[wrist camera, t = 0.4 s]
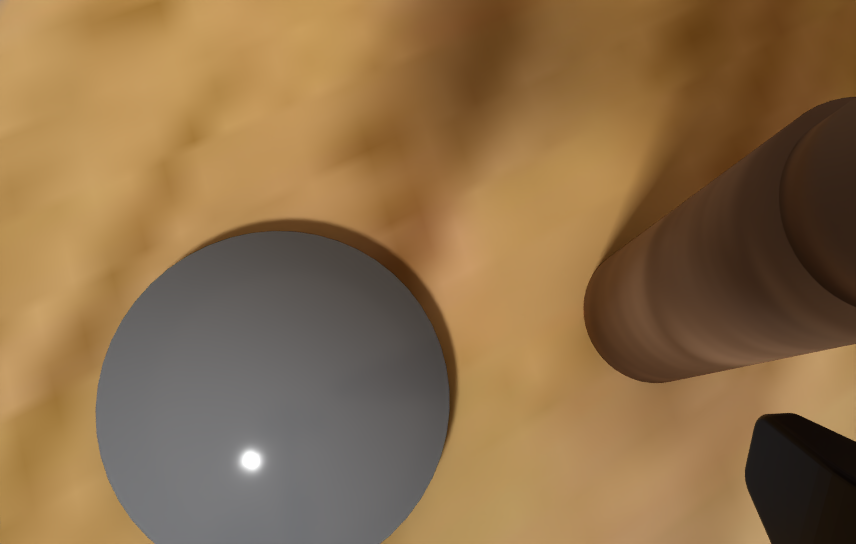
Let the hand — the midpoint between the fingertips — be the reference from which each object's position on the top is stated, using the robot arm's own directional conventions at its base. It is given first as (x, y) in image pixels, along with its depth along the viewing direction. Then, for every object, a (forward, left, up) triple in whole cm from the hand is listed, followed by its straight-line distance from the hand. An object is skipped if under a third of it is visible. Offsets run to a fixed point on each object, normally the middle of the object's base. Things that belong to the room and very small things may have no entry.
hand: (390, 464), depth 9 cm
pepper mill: (-3, -10, -14) cm, 17 cm away
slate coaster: (+3, +1, -14) cm, 14 cm away
